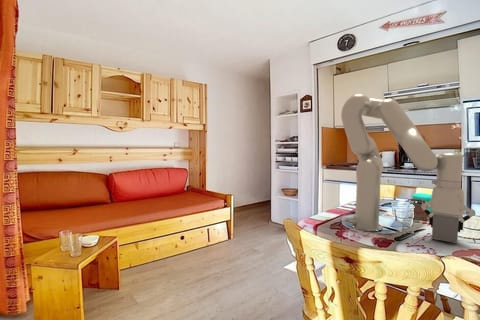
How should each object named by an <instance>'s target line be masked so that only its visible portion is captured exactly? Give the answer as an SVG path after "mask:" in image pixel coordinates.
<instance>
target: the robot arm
mask: <svg viewBox="0 0 480 320" xmlns="http://www.w3.org/2000/svg"><path fill="white" fill-rule="evenodd" d="M362 116H364V117H369V118H375V119H381V121H382V122H383V123H384V125H385V126H386V128H387V130H388V131H389V132H390V133H391V135H392V136H393V137H394V139H395V141H396V142H397V143H398V144H399V145H400V147H402V149H403V151H404V152H405V154H406V155H407V157H409V159H410V161H411V162H412V164H413V165H414V167H416V169H417V170H419V171H421V172H424V173H425V172H427V173H429V172H432V171H433V170H436V179H433V180H431V184H432V185H435V186H433V188H432V191H431V195H432V196H431V201H429V202H425V204H423V203H422V204H423V205H421V207H422V209H423V210H424V212H425V213H426V214H427V217H428V220H429V221H428V224H429V226H430V228H432V227H433V216H434V214H435V213H440V214H446V215H453V216H457V217H458V218H459V225H458V233H461V231H464V223H465V222H466V221H468V220H470V219H471V218H473V217H474V215H476V213H475V211H474V210H473V209H471V208H470V207H468V206H466V205H465V195H464V194H465V193H464V189H463V188H462V175H463V162H464V157H463V156H464V155H463V154H461V153H458V152H441V153H440V152H434V151H433V150H432V149H431V148H430V146H429V145H428V144H427V142H426V140H425V139H424V138H423V137H422V135H421V133H420V132H419V130H418V128H417V127H416V125H415V124H414V122H413V121H412V119H410V117H409V116H408V115H407V113H406V112H405V110H404V109H403V107H401V105H400V104H399V103H398V101H396V100H395V99H394V98H385V99H377V98H372V97H368V96H367V95H365V94H363V93H356V94H353V95H352V96H350V97H349V98H348V99H346V101H345V102H344V104H343V106H342V108H341V122H342V125H343V129H344V131H345V135H346V139H347V140H348V145H349V147H350V150H351V152H352V153H353V154H354V155H356V157H357V160H358V163H357V165H356V171H355V172H356V173H355V174H356V196H355V198H356V199H355V200H356V201H355V215H353V216H351V217H344V219H343V220H344V222H346V223H349V224H351V227H352V226H354V227H355V228H354V227H353V228H354V229H356V228H357V229H356V230H360V231H362V232H363V231H364V232H370V231H376V230H380V229H382V230H383V225H381V224H380V223H379V222H380V221H379V220H380V202H381V201H380V200H381V174H382V173H383V171H384V162H383V160H382V157H381V154H380V152H379V149H378V146H377V143H376V142H375V140H374V139H373V137H371V136H370V135H369V134H368V130H367V129H366V125H365V122H364V120H363V117H362ZM427 206H429V207H430V209H431V212H430V211H429V210H428V209H427V208H426V207H427ZM464 212H467V213H468V214H466V215H465V216H463V215H464Z"/></svg>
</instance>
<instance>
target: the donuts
mask: <svg viewBox="0 0 480 320" xmlns="http://www.w3.org/2000/svg"><path fill="white" fill-rule="evenodd" d="M411 196H412V197H411V198H414V199H421V200H426V202H425V203H427V202H429V201H431V196H432V194H428V193H420V192H417V193H413V194H412V195H411ZM428 210H429V211H430V212H431V209H430V205H429V206H428Z"/></svg>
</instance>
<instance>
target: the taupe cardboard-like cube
mask: <svg viewBox="0 0 480 320" xmlns="http://www.w3.org/2000/svg"><path fill="white" fill-rule="evenodd" d="M458 225H459V218H458V217H457V216H453V215H446V214H440V213H435V214H434V216H433V227H431V228H432V232H431V239H432V240H433V239H434V240H438V241H443V242H448V243H454V244H458V235H459V232H458Z"/></svg>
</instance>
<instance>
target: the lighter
mask: <svg viewBox="0 0 480 320" xmlns="http://www.w3.org/2000/svg"><path fill="white" fill-rule="evenodd" d="M410 201H411V202H409V203H410V204H413V205H414V206H415V208H414V218H413V219H415V220H423V221H427V220H428V215H427V214H426V213H425V212H424V210H423V209H422V207H421V205H423V204H425V203H427V202H426V200H421V199H414V198H413V197H411V199H410ZM426 208H427V209H428V206H427V207H426Z"/></svg>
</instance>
